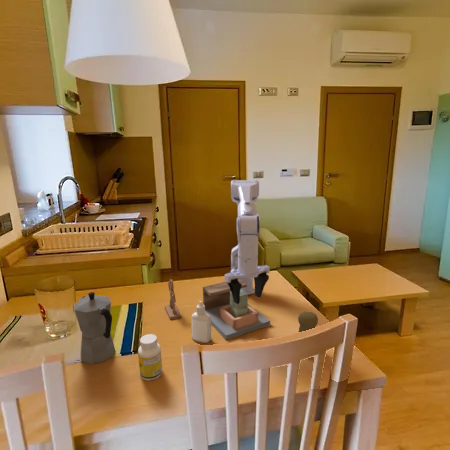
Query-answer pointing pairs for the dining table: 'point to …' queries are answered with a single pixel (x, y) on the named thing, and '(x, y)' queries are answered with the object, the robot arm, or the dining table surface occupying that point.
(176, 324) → the dining table surface
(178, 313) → the brown statuette
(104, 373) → the dining table surface
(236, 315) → the peg
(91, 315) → the coffeepot
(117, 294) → the dining table surface
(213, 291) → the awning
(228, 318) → the socket stand
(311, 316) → the olive rounded piece
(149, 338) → the supplement bottle
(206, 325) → the eye dropper bottle
